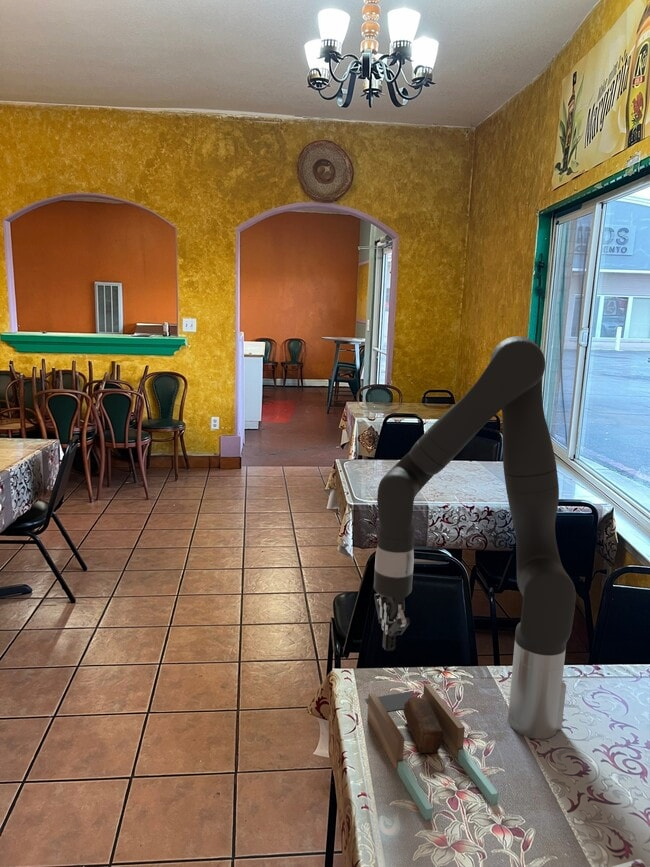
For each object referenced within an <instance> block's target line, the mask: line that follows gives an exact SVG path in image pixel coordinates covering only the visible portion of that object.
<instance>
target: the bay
mask: <svg viewBox="0 0 650 867" xmlns="http://www.w3.org/2000/svg"><path fill="white" fill-rule="evenodd" d="M457 761H458V762H459V764H460V765H461V767H462V768H463V769H464V771H465V772H466V773H467V775H468V776H469V777H470V779H471V780H472V781H473V783H474V784H475V785H476V787H477V788H478V790H479V791H480V792H481V794H482V795H483V796H484V798H485V799H486V800H487V802H488V804H490V805H491V806H494V805H498V804H499V792H498V791H497V789H496V788H495V787H494V785H493V783H492V782H491V781H490V780H489V778H488V777H487V776H486V775H485V773H484V771H483V770H482V769H481V768H480V767H479V766H478V764H477V763H476V762H475V760H474V759H473V758H472V757H471V755H470V754H469V752H468V751H467V750H466V749H465V748H463V749H461V750H459V751H458V758H457ZM396 772H397V774H398V776H399V777H400V780H401V781H402V783H403V785H404V787H405V788H406V790H407V791H408V793H409V795H410V796H411V797H412V800H413V802H414V803H415V805H416V807H417V808H418V810H419V812H420V813H421V815H422V817H423V818H424V820H425V821H428V820H433V818H434V806H433V805H432V804H431V801H430V800H429V799H428V797H427V795H426V794H425V792H424V790H423V789H422V788H421V786H420V784H419V782H418V781H417V779H416V777H415V776H414V774H413V773H412V771H411V770H410V768H409V766H408V765H407V763H406V761H405V760H403V761H401V762H398V770H396Z"/></svg>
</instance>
